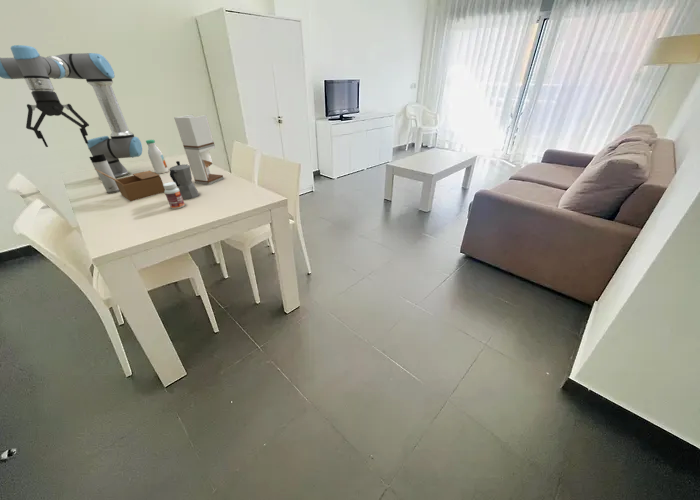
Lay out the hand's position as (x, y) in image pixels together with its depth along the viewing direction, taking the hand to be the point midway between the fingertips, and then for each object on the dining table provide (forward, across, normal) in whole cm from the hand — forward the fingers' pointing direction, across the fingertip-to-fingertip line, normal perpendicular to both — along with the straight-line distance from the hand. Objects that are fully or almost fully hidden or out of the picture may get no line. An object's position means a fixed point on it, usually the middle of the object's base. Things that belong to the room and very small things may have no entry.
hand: (67, 145), depth 126 cm
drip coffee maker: (+26, +54, -6) cm, 60 cm away
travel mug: (+26, +11, +17) cm, 33 cm away
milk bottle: (+22, +41, +37) cm, 59 cm away
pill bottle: (+30, +27, -34) cm, 52 cm away
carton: (+27, +21, 0) cm, 34 cm away
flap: (+15, +9, -2) cm, 18 cm away
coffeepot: (+28, +35, -24) cm, 52 cm away
